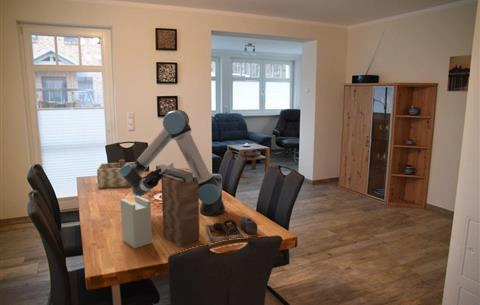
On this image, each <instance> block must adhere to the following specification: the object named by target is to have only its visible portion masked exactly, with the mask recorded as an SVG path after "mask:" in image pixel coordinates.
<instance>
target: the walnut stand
mask: <svg viewBox="0 0 480 305" xmlns="http://www.w3.org/2000/svg"><path fill="white" fill-rule="evenodd" d="M160 181H161V182H160V183H161V203H162V204H161V206H162V228H163V238H165V239H166V240H168V241H170V242H171V243H174V244H176V245H177V246H179V247H181V248H184V247H186V246H187V247H188V246H189V245H192V244H195V243H198V242H200V240H201V239H200V202H199V201H200V199H199V193H198V180H197V177H194V176H193V181H192V182H187V183H185V182H184V180H183V179H179V178H176V177H173V176H170V175H167V174H163V178H161V180H160Z"/></svg>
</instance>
